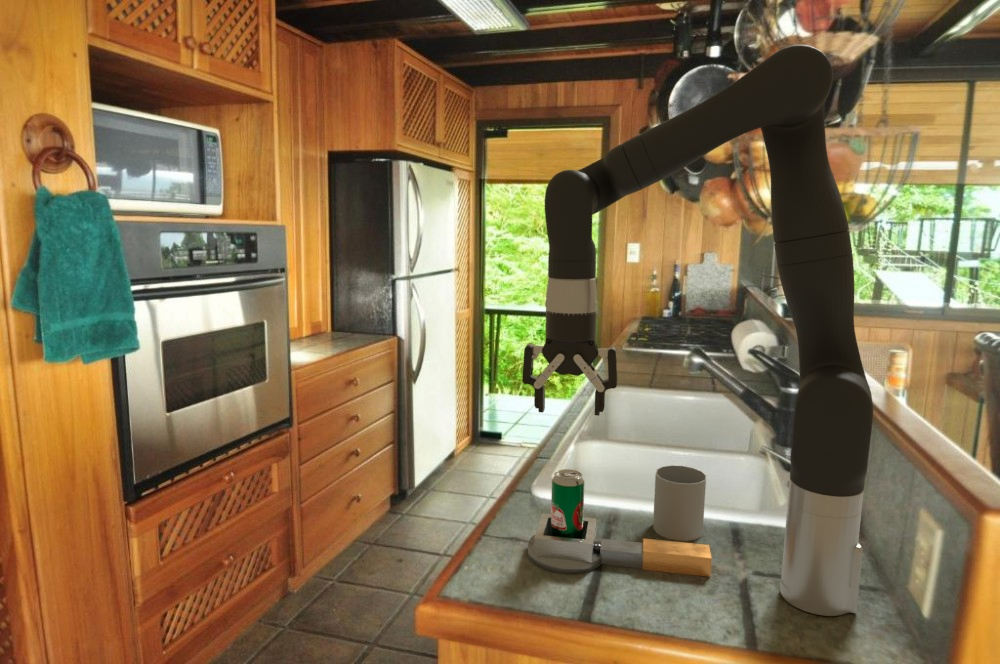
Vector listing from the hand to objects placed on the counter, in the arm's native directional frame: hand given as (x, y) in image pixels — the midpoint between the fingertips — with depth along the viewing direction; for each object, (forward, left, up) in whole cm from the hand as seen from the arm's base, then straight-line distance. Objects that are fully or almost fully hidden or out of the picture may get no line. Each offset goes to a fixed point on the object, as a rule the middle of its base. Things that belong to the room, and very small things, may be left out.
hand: (569, 412), depth 105 cm
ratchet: (-8, 0, -23) cm, 25 cm away
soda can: (0, 0, -22) cm, 22 cm away
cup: (-18, -13, -24) cm, 33 cm away
